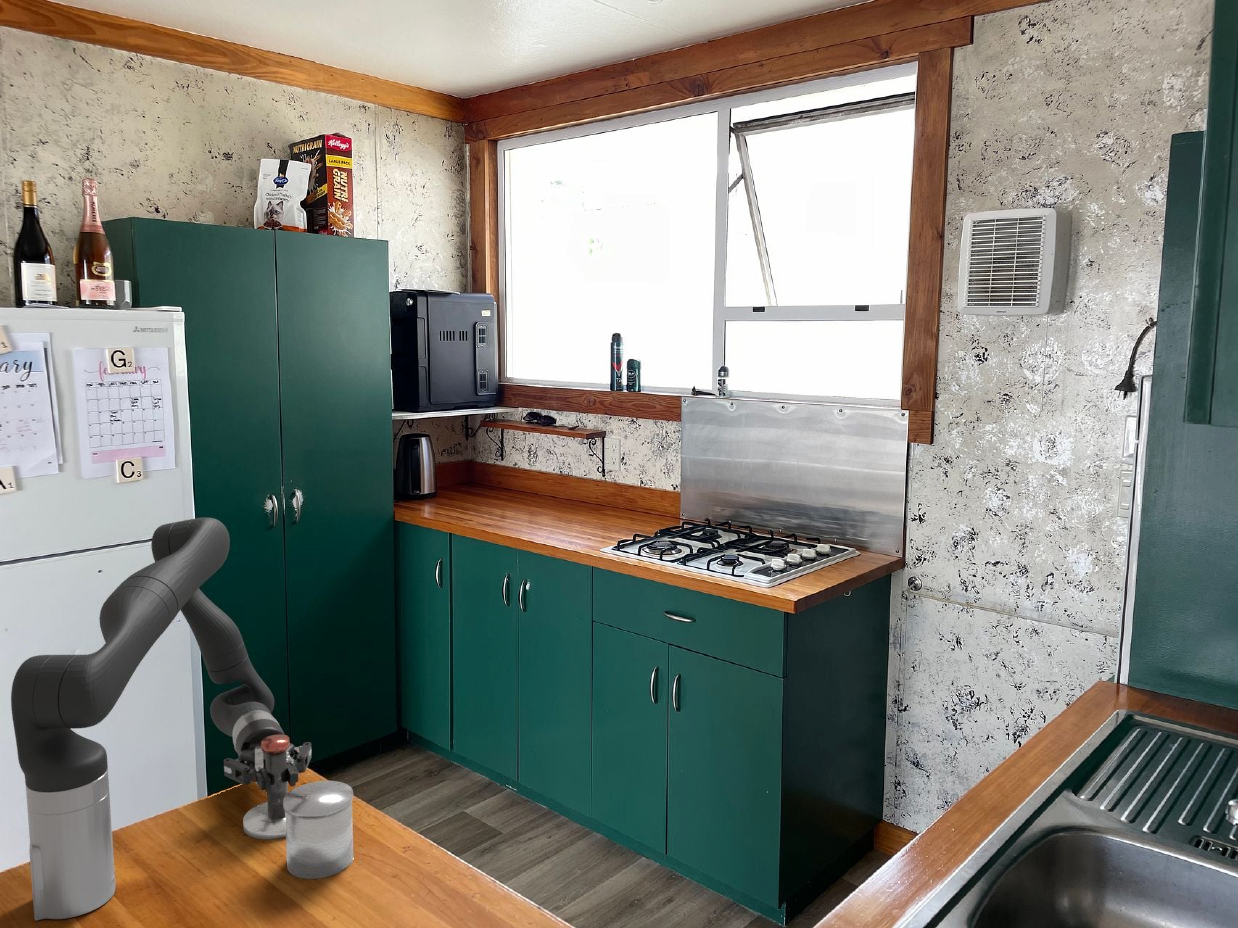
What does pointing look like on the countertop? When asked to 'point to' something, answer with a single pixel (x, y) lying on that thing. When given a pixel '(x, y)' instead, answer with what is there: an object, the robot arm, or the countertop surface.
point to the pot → (319, 829)
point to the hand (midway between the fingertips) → (280, 782)
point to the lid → (271, 793)
